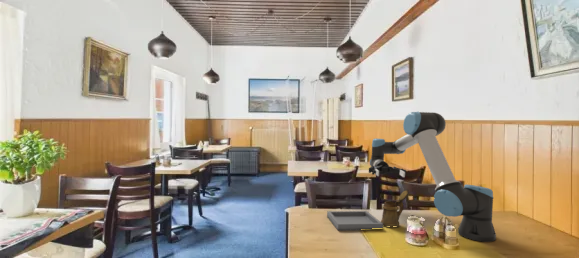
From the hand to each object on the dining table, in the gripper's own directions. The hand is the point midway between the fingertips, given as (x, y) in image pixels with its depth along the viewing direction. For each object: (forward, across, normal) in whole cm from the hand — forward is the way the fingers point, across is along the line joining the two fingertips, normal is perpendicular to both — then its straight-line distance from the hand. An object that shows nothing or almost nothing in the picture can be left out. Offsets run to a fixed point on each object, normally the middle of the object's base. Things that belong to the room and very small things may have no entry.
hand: (391, 174), depth 171 cm
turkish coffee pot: (+10, 0, -24) cm, 26 cm away
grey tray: (+8, +20, -24) cm, 33 cm away
